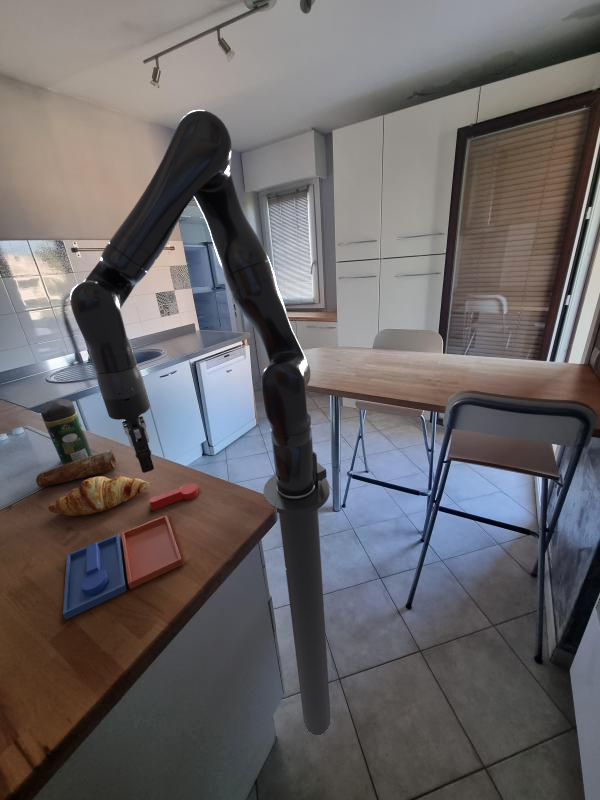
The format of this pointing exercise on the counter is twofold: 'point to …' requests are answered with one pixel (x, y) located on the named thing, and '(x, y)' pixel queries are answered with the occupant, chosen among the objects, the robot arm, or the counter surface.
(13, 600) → the counter surface
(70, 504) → the croissant
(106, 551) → the blue tray
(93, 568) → the blue spoon
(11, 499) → the counter surface
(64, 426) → the coffee jar
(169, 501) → the red spoon
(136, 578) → the terracotta tray
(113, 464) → the bread
